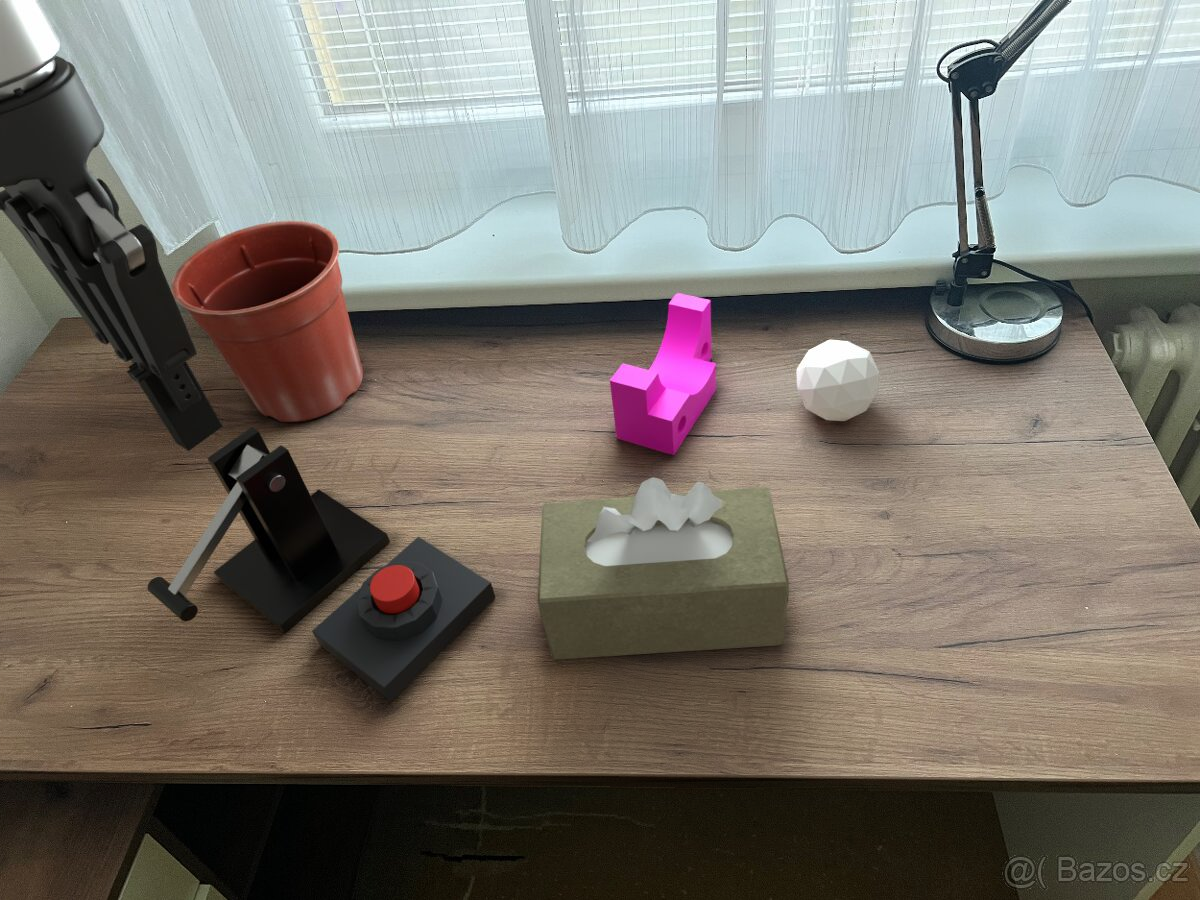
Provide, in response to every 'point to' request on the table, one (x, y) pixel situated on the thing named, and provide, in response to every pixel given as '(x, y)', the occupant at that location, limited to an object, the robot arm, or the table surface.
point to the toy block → (668, 381)
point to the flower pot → (276, 316)
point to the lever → (204, 544)
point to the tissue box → (662, 572)
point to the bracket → (289, 536)
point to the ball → (837, 380)
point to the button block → (405, 620)
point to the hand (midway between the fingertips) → (199, 434)
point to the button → (394, 589)
